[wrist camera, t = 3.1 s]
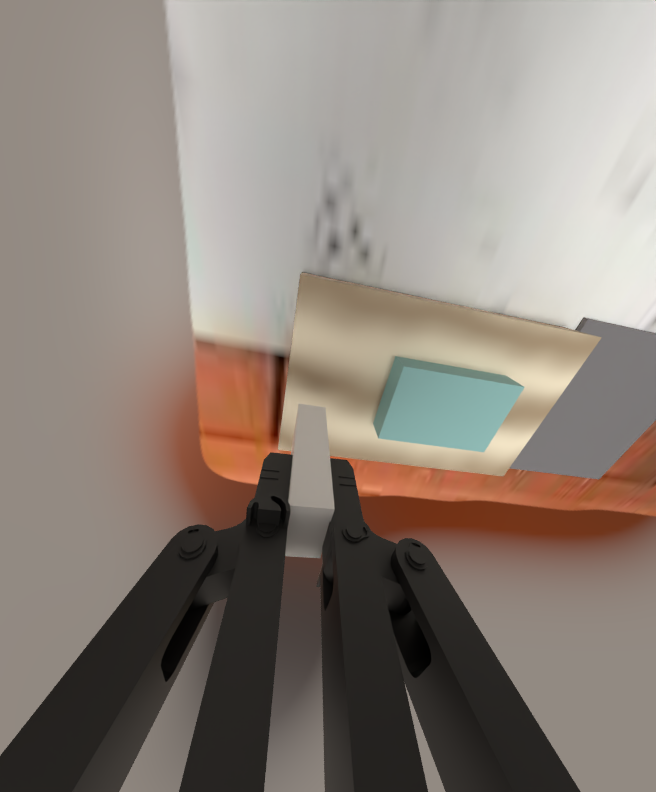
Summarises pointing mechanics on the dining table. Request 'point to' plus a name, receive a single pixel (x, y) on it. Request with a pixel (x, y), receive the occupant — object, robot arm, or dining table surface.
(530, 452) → the mat
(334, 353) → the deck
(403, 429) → the teal foam pad
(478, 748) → the robot arm
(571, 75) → the dining table surface
